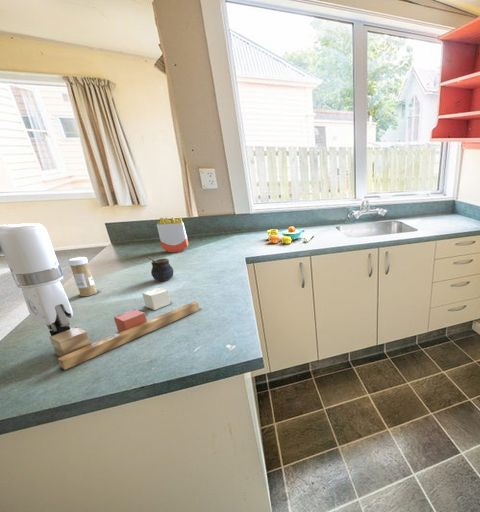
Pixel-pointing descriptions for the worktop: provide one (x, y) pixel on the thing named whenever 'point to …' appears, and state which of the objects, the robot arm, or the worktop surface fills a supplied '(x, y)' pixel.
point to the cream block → (156, 298)
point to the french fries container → (172, 235)
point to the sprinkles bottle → (82, 276)
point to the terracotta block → (129, 320)
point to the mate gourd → (161, 269)
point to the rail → (125, 336)
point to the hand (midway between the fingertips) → (64, 341)
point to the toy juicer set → (287, 235)
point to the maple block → (69, 341)
